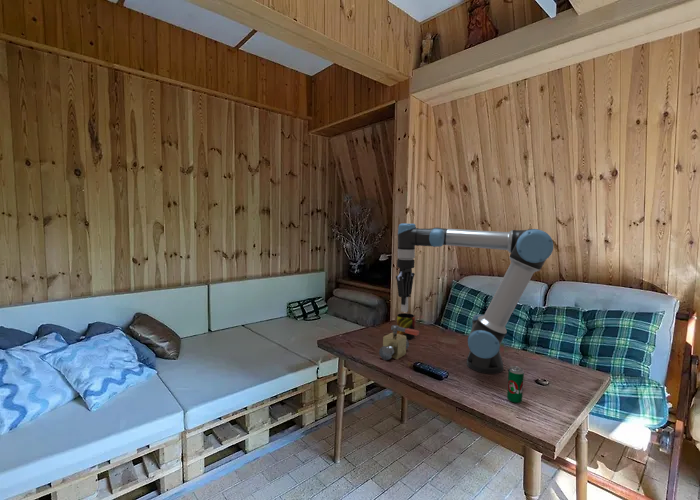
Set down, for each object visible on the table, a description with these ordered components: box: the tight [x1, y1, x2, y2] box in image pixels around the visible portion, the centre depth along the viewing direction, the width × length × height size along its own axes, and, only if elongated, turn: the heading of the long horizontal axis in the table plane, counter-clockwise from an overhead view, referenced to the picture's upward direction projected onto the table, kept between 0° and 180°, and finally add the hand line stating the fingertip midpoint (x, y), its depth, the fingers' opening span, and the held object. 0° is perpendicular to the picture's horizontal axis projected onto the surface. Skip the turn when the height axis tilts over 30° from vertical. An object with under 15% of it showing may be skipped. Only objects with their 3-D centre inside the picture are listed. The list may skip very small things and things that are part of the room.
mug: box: [396, 312, 416, 341], centre depth 190 cm, size 10×14×12 cm
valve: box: [378, 332, 410, 361], centre depth 164 cm, size 17×8×9 cm, turn 142°
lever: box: [390, 324, 420, 337], centre depth 160 cm, size 14×4×5 cm, turn 52°
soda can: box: [506, 365, 525, 404], centre depth 123 cm, size 5×5×12 cm
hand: (404, 311), depth 152 cm, fingers closed
